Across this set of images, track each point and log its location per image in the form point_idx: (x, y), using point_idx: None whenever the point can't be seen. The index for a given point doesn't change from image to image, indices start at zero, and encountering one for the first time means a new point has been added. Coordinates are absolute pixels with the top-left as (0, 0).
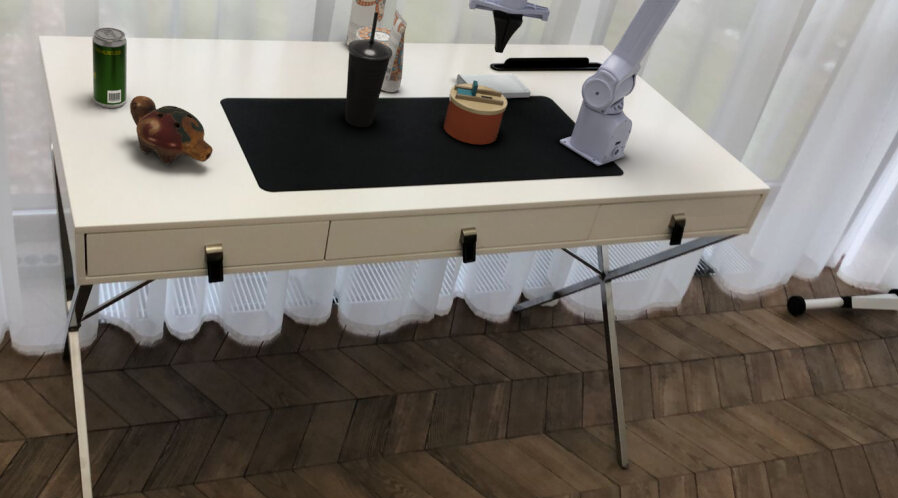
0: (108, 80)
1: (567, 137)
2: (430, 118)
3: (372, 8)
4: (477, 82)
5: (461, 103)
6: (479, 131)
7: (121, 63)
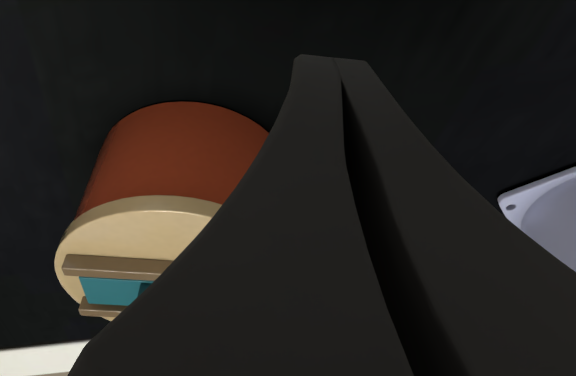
0: None
1: (541, 184)
2: (45, 125)
3: None
4: None
5: (112, 319)
6: None
7: None
